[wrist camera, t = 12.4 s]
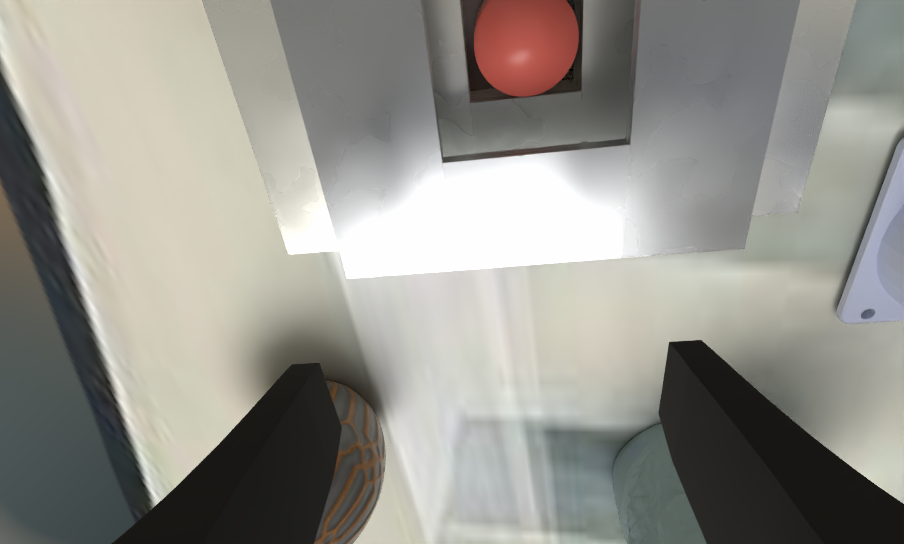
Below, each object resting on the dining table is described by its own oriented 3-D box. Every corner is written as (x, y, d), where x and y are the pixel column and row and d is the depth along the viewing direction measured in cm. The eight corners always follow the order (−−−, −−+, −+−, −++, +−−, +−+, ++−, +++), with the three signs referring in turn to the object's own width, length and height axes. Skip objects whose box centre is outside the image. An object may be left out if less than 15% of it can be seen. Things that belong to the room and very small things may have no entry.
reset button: (565, -28, 15) (579, -24, 13) (564, 72, 16) (578, 91, 14) (470, -16, 15) (468, -10, 13) (478, 82, 17) (478, 101, 14)
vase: (349, 339, 23) (289, 522, 16) (418, 431, 26) (395, 618, 19) (231, 381, 25) (129, 563, 18) (309, 463, 28) (250, 644, 21)
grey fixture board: (903, -333, 11) (1105, -465, 8) (774, 193, 18) (848, 255, 15) (164, -199, 13) (43, -255, 10) (301, 234, 20) (261, 298, 17)
